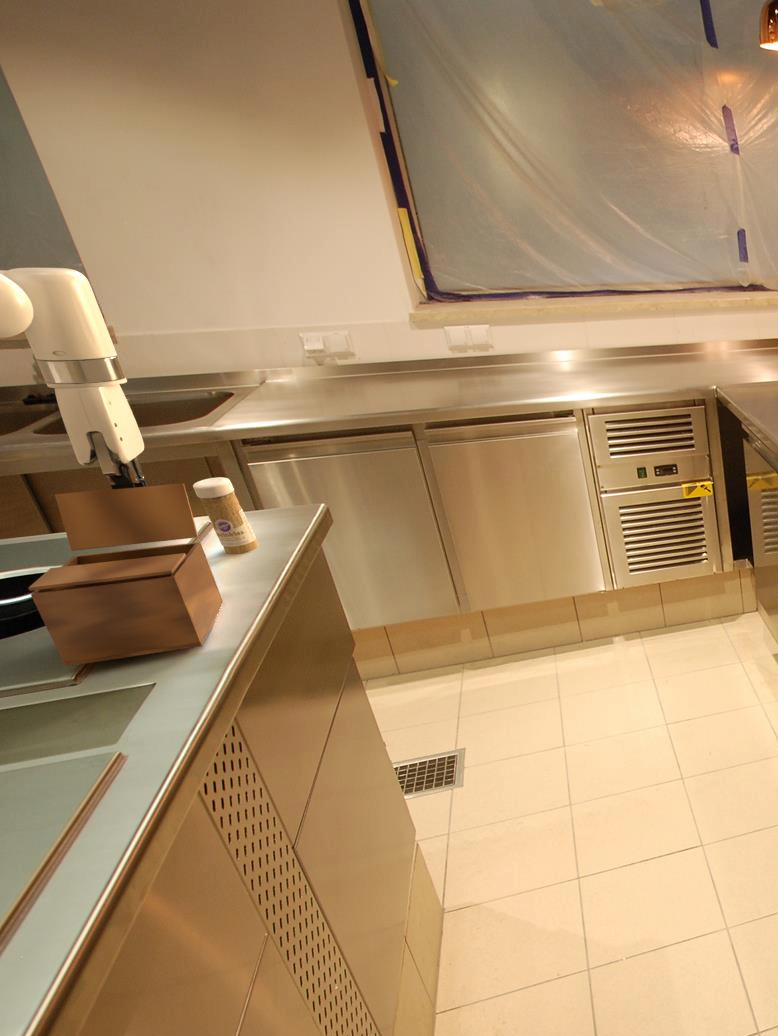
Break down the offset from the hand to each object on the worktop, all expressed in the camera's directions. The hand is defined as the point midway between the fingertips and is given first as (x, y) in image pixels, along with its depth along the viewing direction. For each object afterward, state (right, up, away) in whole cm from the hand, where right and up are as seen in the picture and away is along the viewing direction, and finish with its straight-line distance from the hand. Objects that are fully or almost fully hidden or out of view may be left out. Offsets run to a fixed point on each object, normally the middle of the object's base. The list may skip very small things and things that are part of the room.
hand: (139, 510), depth 115 cm
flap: (+2, -1, -4) cm, 5 cm away
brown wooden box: (+6, -17, -5) cm, 19 cm away
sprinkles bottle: (-2, -5, +20) cm, 21 cm away
